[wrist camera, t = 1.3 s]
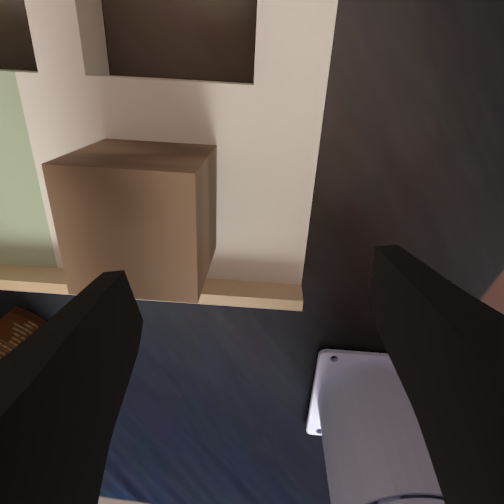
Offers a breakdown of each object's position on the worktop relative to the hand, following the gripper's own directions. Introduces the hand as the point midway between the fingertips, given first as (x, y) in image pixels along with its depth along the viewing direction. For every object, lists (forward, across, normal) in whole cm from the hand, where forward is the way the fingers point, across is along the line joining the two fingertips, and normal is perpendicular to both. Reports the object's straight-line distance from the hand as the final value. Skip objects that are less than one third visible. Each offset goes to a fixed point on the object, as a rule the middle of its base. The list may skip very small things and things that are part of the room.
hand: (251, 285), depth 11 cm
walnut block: (+8, +4, 0) cm, 9 cm away
